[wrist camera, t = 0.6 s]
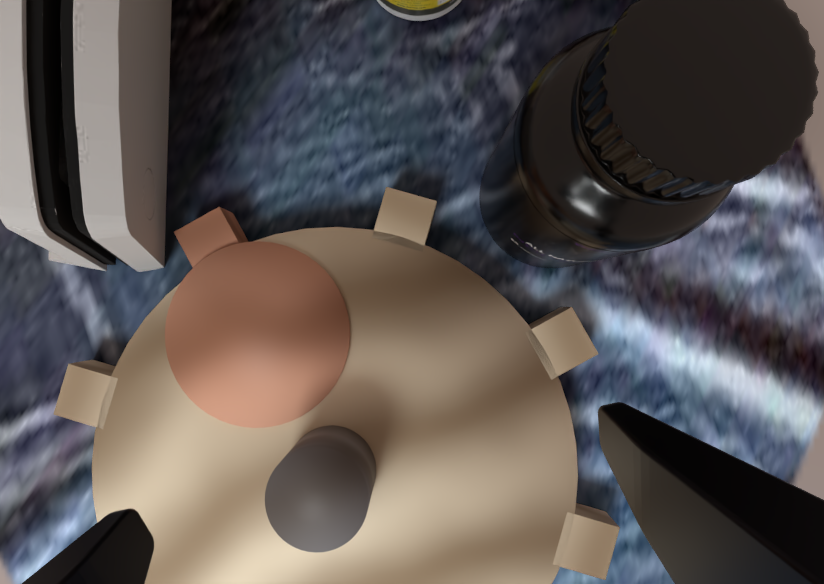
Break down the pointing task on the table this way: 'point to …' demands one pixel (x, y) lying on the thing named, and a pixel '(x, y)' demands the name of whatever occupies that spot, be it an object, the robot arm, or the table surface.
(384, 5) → the supplement bottle
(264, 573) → the sprocket wheel
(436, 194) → the table surface
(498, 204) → the supplement bottle
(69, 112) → the white arched block
